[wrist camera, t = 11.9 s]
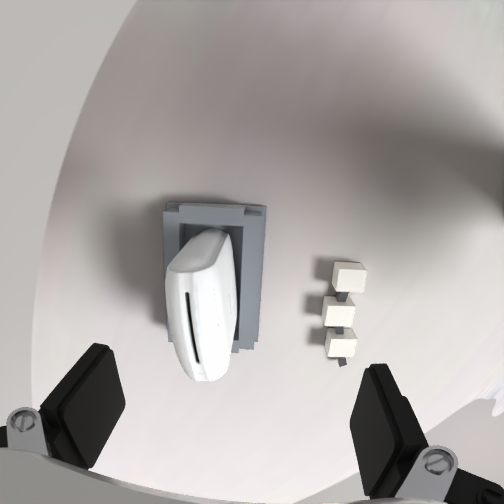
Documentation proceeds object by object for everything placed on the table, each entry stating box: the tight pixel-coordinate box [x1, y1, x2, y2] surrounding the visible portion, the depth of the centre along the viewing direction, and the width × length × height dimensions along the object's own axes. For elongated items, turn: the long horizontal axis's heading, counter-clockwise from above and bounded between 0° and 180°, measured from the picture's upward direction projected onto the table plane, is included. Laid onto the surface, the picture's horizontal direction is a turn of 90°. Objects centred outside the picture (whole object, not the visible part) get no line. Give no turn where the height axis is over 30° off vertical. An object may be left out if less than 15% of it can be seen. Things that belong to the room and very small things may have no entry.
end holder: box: [163, 202, 266, 353], centre depth 32 cm, size 10×15×3 cm, turn 177°
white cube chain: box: [321, 261, 367, 367], centre depth 33 cm, size 4×13×2 cm, turn 177°
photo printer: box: [165, 228, 238, 381], centre depth 27 cm, size 10×4×12 cm, turn 3°
